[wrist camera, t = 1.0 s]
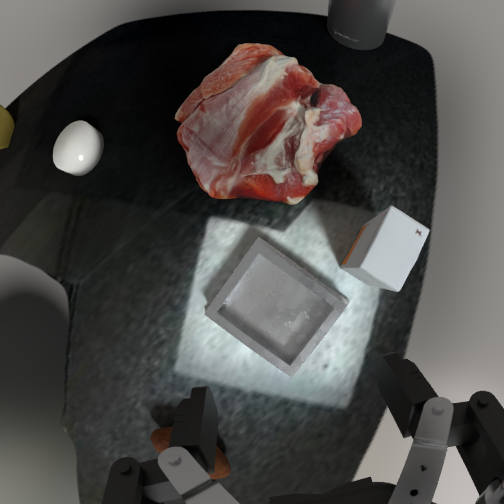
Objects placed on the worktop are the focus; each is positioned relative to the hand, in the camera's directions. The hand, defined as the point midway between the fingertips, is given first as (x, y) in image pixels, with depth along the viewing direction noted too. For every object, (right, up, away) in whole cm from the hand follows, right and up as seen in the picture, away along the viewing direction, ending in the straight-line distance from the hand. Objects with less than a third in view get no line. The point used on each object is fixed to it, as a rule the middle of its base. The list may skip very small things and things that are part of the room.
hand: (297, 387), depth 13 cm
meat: (-1, +21, +25) cm, 32 cm away
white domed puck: (-28, +22, +28) cm, 46 cm away
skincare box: (+11, +6, +22) cm, 25 cm away
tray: (+1, 0, +23) cm, 23 cm away
